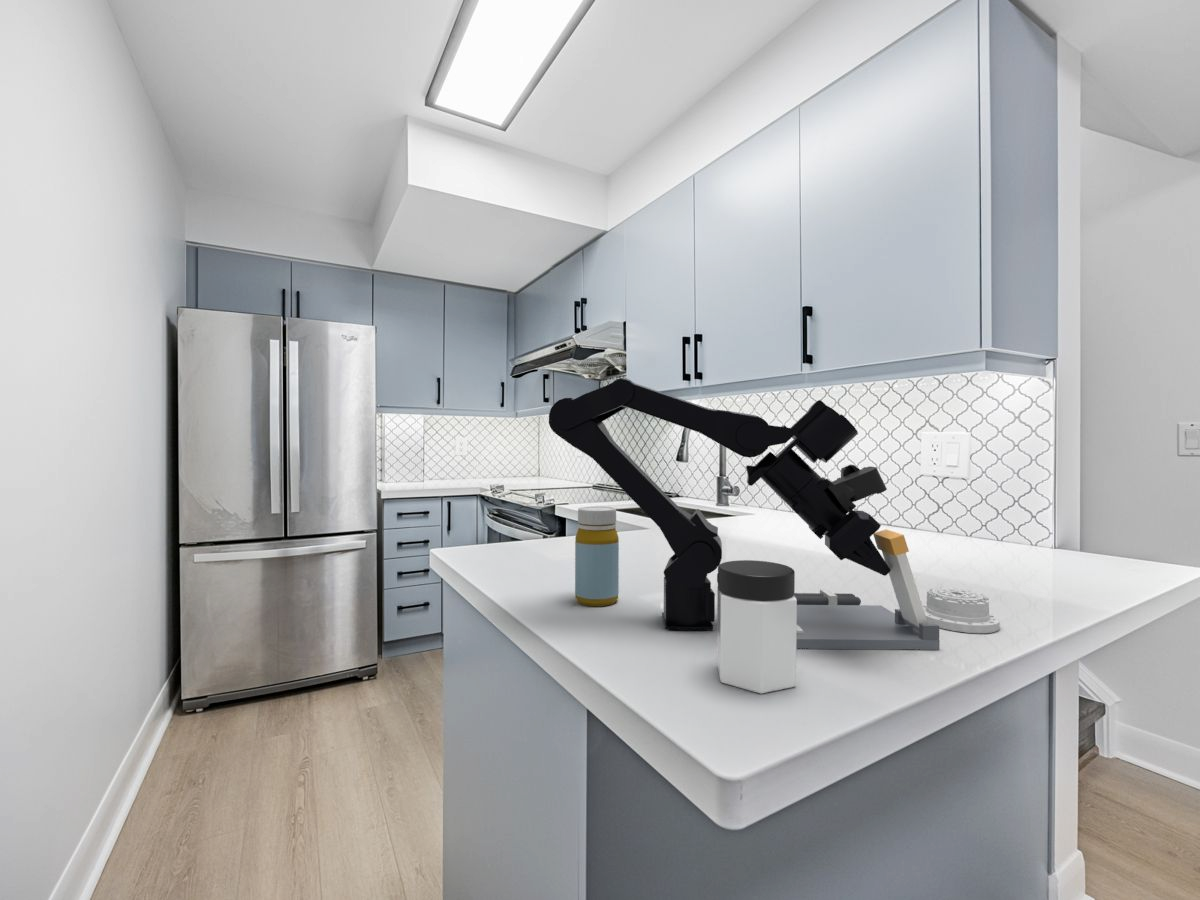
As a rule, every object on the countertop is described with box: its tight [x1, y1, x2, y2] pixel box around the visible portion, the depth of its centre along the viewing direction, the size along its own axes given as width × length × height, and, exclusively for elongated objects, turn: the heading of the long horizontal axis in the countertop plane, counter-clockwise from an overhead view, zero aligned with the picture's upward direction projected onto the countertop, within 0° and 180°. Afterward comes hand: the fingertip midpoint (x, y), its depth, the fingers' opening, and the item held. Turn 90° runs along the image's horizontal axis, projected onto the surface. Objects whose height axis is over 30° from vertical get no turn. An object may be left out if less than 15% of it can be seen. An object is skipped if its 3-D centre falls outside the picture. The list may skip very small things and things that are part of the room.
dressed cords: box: [794, 588, 862, 605], centre depth 90 cm, size 19×4×2 cm, turn 89°
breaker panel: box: [796, 604, 941, 651], centre depth 77 cm, size 21×15×3 cm
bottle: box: [574, 506, 620, 607], centre depth 91 cm, size 7×7×15 cm
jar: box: [716, 559, 797, 694], centre depth 62 cm, size 9×8×12 cm
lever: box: [872, 529, 928, 631], centre depth 73 cm, size 2×5×13 cm, turn 179°
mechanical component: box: [922, 587, 1001, 634], centre depth 81 cm, size 10×4×10 cm
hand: (887, 572), depth 74 cm, fingers closed
